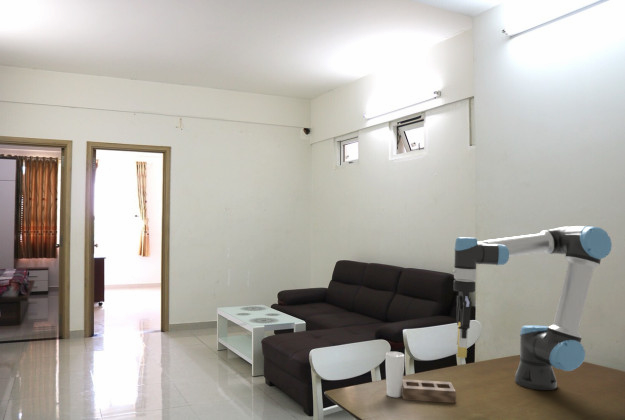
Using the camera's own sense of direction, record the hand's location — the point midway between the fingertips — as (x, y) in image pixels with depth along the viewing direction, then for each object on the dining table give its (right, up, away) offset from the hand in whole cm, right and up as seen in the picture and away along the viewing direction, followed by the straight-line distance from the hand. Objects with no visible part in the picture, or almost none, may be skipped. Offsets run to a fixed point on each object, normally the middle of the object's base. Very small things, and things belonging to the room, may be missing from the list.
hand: (461, 345), depth 175 cm
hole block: (-12, -19, +2) cm, 22 cm away
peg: (0, -4, 0) cm, 4 cm away
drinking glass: (-24, -19, +2) cm, 31 cm away
